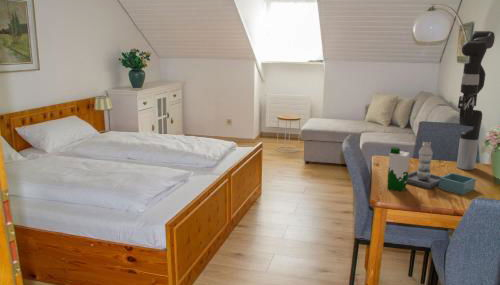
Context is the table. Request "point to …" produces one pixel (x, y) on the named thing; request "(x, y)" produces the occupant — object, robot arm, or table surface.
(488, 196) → the table surface
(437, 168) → the table surface
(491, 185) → the table surface
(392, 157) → the milk carton
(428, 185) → the tray
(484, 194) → the table surface
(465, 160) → the robot arm
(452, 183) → the teal open box
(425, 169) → the plastic bottle
